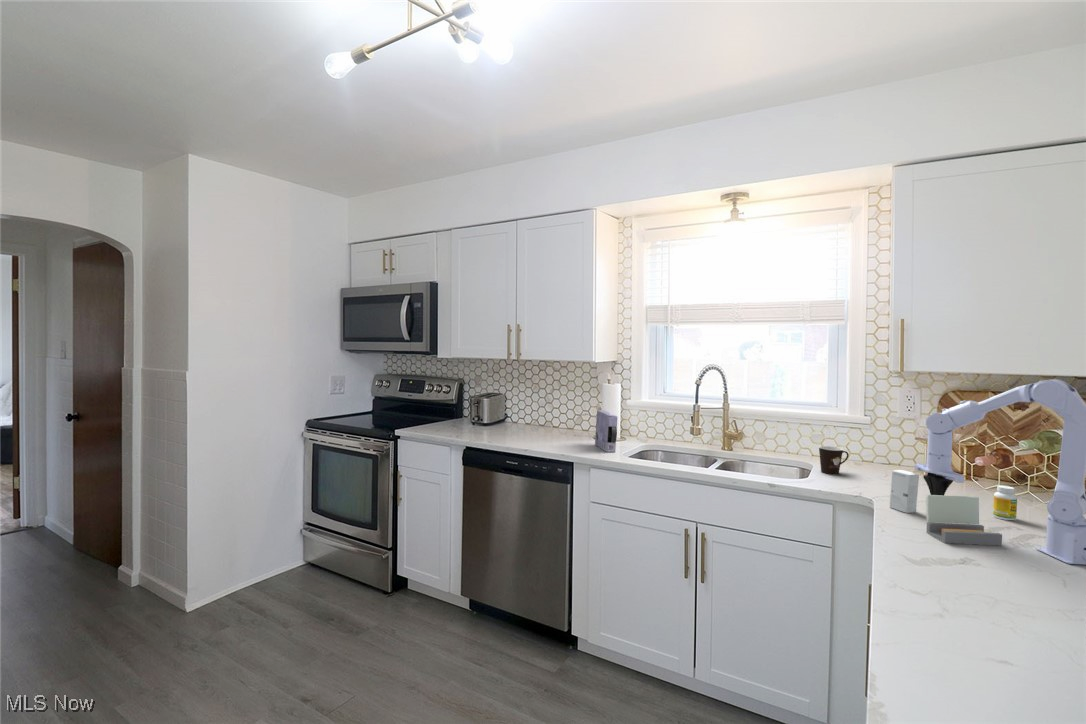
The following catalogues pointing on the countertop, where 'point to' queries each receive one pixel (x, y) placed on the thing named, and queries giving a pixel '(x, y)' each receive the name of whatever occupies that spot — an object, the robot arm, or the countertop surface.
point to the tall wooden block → (962, 530)
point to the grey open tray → (963, 534)
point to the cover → (952, 509)
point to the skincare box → (904, 491)
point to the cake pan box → (606, 431)
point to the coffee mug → (831, 459)
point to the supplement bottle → (1005, 503)
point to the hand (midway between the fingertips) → (936, 500)
